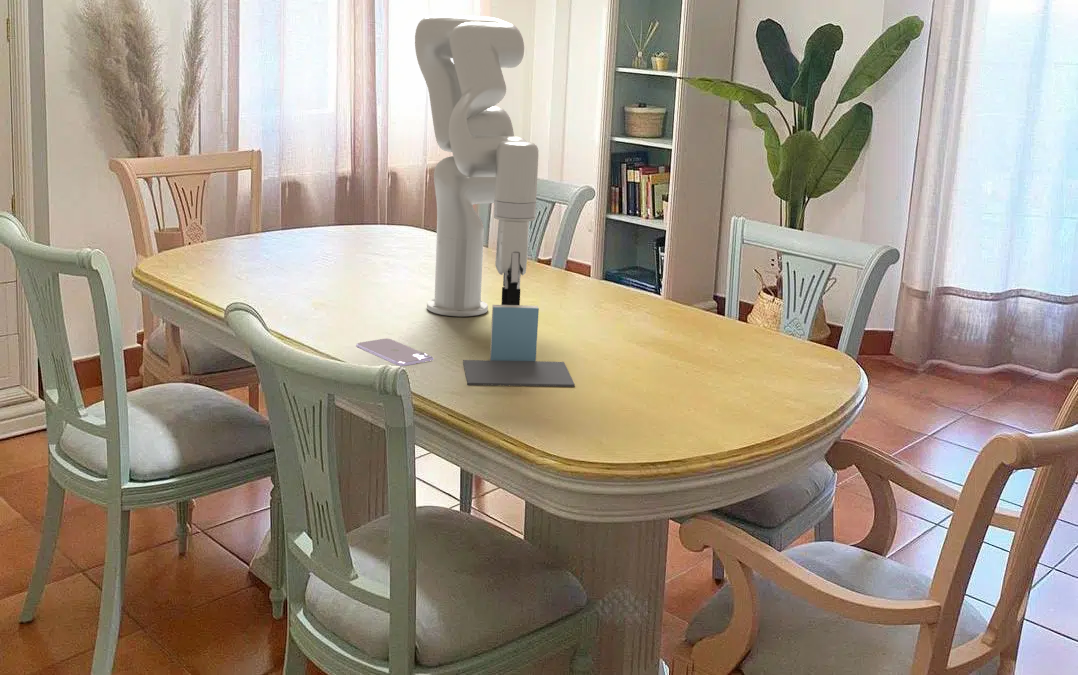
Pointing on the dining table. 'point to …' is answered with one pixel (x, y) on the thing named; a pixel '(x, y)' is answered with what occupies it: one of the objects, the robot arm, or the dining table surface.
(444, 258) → the robot arm
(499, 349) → the tile
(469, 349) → the dining table surface
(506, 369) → the mat
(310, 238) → the dining table surface
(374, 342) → the mobile phone
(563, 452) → the dining table surface
